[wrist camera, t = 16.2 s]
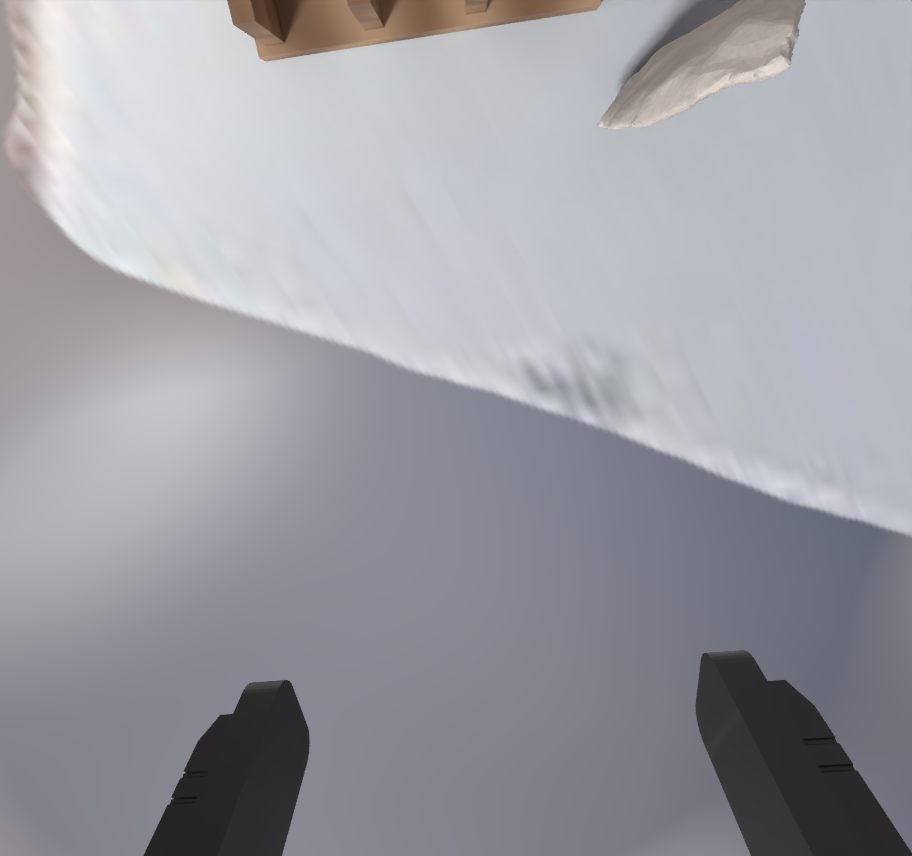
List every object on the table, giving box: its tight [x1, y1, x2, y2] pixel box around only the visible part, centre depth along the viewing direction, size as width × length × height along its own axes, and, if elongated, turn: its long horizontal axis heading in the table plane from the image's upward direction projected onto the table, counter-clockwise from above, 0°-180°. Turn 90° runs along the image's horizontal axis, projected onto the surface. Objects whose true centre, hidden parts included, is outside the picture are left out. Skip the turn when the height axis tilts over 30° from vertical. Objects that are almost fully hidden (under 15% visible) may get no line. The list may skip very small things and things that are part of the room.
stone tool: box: [598, 0, 806, 130], centre depth 27 cm, size 9×3×15 cm, turn 135°
